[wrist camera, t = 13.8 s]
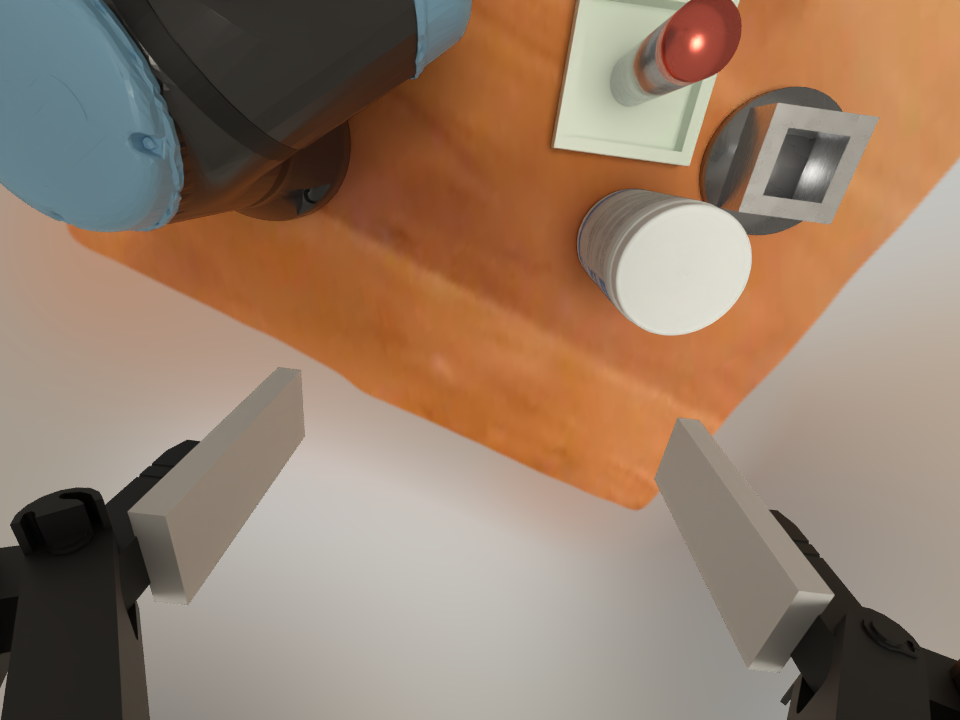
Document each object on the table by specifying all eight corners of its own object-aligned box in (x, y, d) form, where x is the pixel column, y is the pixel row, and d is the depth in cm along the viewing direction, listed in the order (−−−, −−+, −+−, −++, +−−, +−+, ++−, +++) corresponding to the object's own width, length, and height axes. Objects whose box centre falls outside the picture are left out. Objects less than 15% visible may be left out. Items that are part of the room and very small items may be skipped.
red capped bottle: (605, 103, 38) (657, 75, 25) (616, 48, 36) (679, -13, 23) (650, 109, 38) (725, 84, 25) (664, 54, 36) (752, -3, 23)
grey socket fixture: (681, 224, 42) (706, 232, 37) (727, 80, 37) (762, 68, 32) (801, 240, 42) (842, 251, 37) (862, 99, 37) (919, 90, 32)
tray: (550, 148, 40) (553, 147, 37) (579, -18, 35) (585, -30, 32) (678, 165, 40) (689, 166, 38) (725, 4, 35) (741, -7, 33)
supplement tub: (562, 271, 45) (590, 320, 31) (595, 175, 41) (643, 183, 27) (650, 295, 45) (714, 352, 32) (691, 202, 41) (783, 223, 28)
